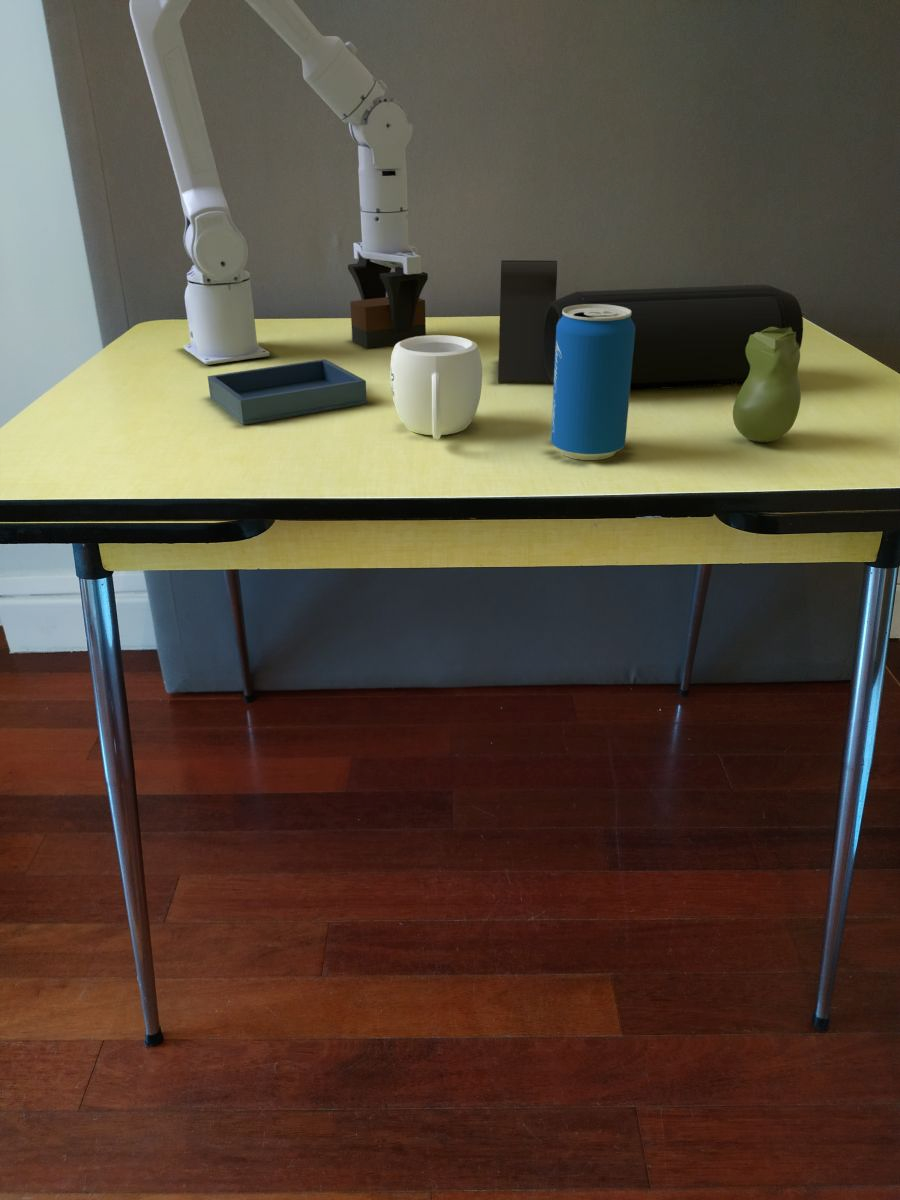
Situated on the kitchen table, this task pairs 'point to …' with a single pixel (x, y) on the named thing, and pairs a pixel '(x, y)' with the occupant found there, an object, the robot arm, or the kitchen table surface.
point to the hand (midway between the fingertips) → (389, 325)
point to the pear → (769, 386)
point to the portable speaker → (687, 330)
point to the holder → (286, 391)
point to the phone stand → (524, 319)
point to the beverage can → (592, 380)
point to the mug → (436, 383)
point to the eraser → (381, 323)
